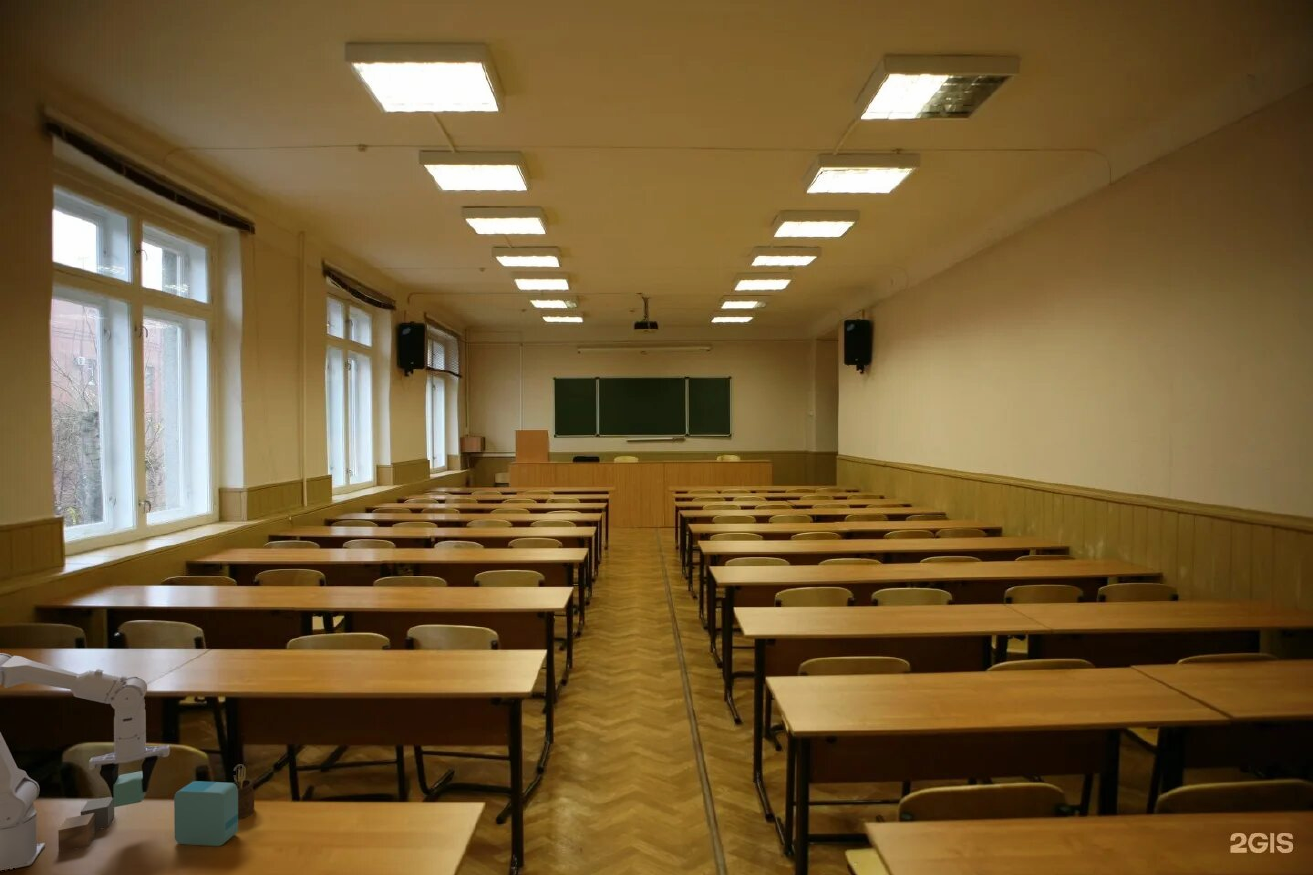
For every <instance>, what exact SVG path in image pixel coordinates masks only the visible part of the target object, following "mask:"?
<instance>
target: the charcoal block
mask: <svg viewBox="0 0 1313 875" xmlns="http://www.w3.org/2000/svg"><path fill="white" fill-rule="evenodd" d="M91 813H94V831H98V830H102V829H101V828H103V829H107V828H109V826H110V825H111V823H112V822H111V821H113V820H112V819H114V818H115V807H114V798H112V796H107V797H102V798H97V799H92V800H91V799H90V800H87V802H86V803H85V804H84V806H83V807H82V809H81V810H80V816H81V815H86V814H91ZM97 829H98V830H97Z"/></svg>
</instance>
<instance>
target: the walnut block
mask: <svg viewBox="0 0 1313 875" xmlns="http://www.w3.org/2000/svg"><path fill="white" fill-rule="evenodd" d="M57 834H58V843H57V844H58V853H64V852H68V851H72V850H77V849H76V848H78V849H81V848H86V847H89V844H90V843H91V841H92V839H93V837H94V836H95V830H94V813H91V814H86V815H81V814H80V815H77V816H72V817H71V816H70V817H66V818H65V819H64V821H63V823H62V824H61V825H60V827H59V829H58V833H57Z"/></svg>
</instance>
